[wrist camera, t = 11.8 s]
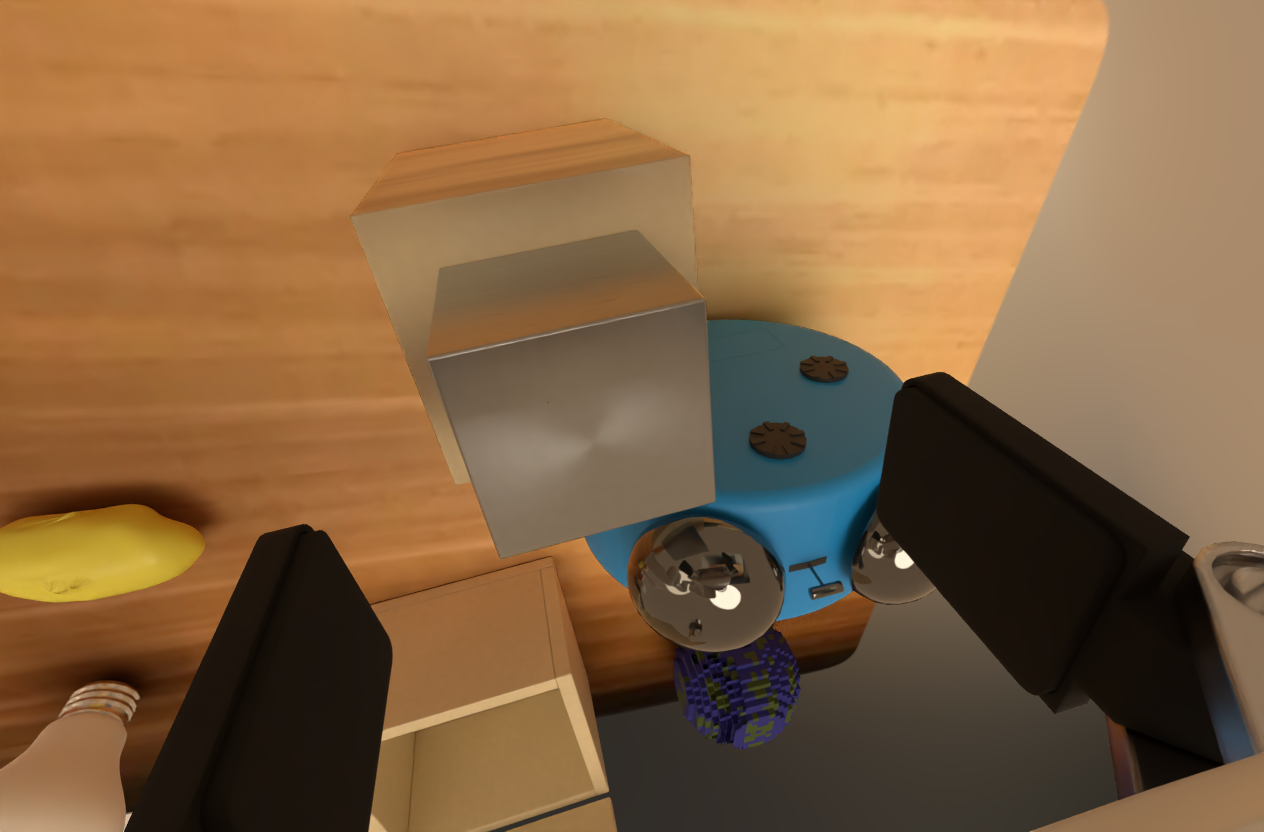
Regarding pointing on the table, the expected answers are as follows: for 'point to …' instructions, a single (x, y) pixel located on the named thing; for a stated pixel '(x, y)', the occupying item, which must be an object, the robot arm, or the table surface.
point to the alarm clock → (773, 495)
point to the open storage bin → (484, 706)
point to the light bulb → (72, 767)
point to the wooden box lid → (577, 820)
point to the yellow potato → (94, 553)
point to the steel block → (575, 388)
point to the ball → (739, 690)
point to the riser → (513, 219)
